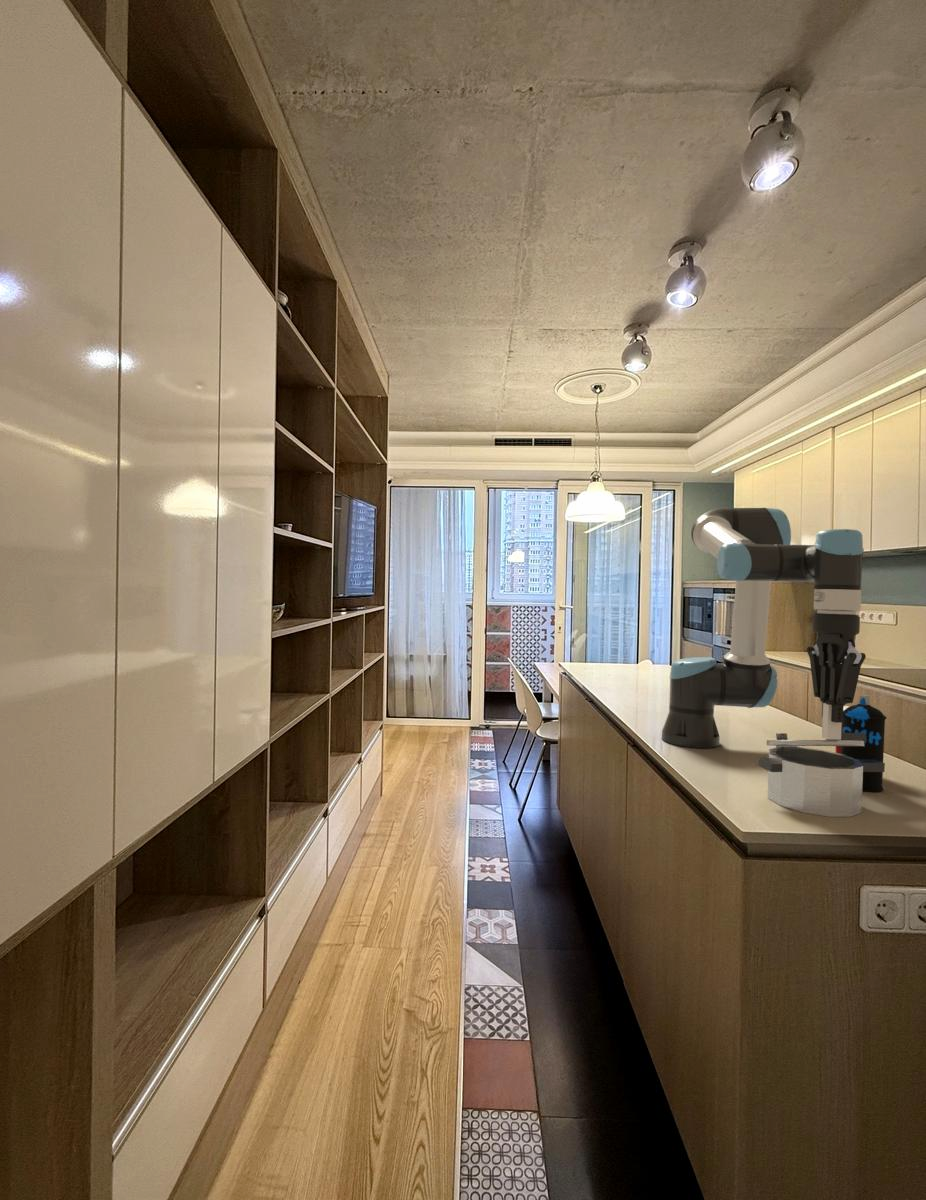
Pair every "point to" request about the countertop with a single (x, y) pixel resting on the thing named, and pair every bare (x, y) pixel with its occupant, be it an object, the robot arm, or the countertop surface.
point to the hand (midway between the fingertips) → (831, 738)
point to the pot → (817, 780)
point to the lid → (820, 741)
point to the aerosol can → (873, 725)
